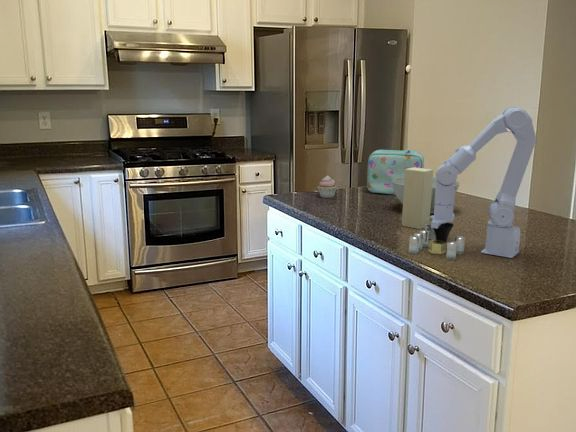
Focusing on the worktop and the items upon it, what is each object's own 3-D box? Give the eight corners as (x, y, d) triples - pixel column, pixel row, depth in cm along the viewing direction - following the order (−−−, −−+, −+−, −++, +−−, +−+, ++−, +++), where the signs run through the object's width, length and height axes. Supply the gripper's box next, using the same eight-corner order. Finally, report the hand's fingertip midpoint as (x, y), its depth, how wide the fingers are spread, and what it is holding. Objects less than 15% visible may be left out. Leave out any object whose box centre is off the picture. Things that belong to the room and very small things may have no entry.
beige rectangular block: (431, 225, 209) (434, 169, 204) (420, 229, 204) (423, 171, 199) (411, 222, 214) (414, 166, 210) (401, 225, 209) (404, 169, 204)
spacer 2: (423, 248, 180) (424, 233, 179) (420, 250, 178) (421, 235, 177) (415, 247, 182) (416, 232, 181) (411, 249, 179) (412, 234, 178)
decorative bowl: (455, 220, 218) (457, 189, 215) (385, 215, 226) (386, 185, 223) (458, 206, 242) (460, 178, 240) (395, 202, 251) (396, 175, 248)
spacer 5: (464, 252, 176) (466, 237, 175) (461, 254, 174) (463, 239, 173) (456, 251, 178) (457, 235, 177) (452, 253, 175) (454, 237, 174)
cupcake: (331, 194, 268) (331, 173, 265) (341, 198, 259) (341, 176, 257) (313, 196, 264) (313, 174, 262) (322, 199, 256) (323, 177, 253)
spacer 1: (419, 252, 176) (420, 236, 175) (415, 254, 174) (416, 238, 173) (411, 251, 178) (411, 235, 177) (407, 253, 176) (408, 237, 174)
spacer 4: (457, 258, 171) (458, 242, 169) (453, 260, 168) (455, 244, 167) (448, 256, 172) (449, 240, 171) (444, 258, 170) (445, 242, 169)
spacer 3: (429, 245, 184) (430, 230, 183) (425, 247, 181) (426, 232, 180) (420, 244, 185) (421, 229, 184) (417, 246, 183) (418, 231, 182)
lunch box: (425, 193, 270) (428, 148, 266) (423, 197, 261) (426, 150, 256) (369, 190, 278) (371, 146, 274) (365, 194, 269) (367, 148, 264)
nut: (446, 250, 178) (447, 240, 177) (445, 254, 174) (445, 244, 173) (429, 249, 180) (429, 239, 179) (427, 252, 176) (427, 242, 175)
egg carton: (423, 232, 201) (423, 221, 200) (445, 233, 200) (445, 222, 199) (426, 240, 190) (427, 228, 189) (449, 241, 189) (450, 229, 189)
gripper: (440, 198, 185) (437, 238, 188) (422, 206, 173) (420, 249, 176) (461, 201, 181) (458, 242, 184) (445, 209, 169) (442, 252, 172)
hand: (441, 245), depth 180 cm, fingers closed
